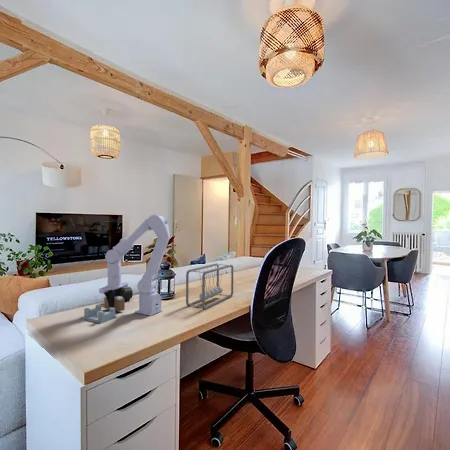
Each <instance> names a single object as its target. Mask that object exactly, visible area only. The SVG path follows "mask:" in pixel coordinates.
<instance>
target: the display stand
mask: <svg viewBox="0 0 450 450" xmlns="http://www.w3.org/2000/svg"><path fill="white" fill-rule="evenodd" d="M83 310H84V315H83V316H82V320H85V319H86V320H85V321H88V322H89V321H90V322H94V323H97V324H103V323H106V322H109V321H112V320H114V319H117V315H116V311H115V308H109V309H108V310H109V311H103V310H102V305H101V304H96V305H95V307H94V308H92V309H91V308H88V307H85V308H84V309H83Z"/></svg>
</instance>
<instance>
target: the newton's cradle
mask: <svg viewBox="0 0 450 450" xmlns="http://www.w3.org/2000/svg"><path fill="white" fill-rule="evenodd" d="M228 268H231V271H230V272H231V274H230V275H231V276H230V281H231V283H230V286H231V287H230V294H224V293H223V290H224V289H223V287H222V286H221V285H220V284H221V281H222V280H220V276H221V277H222V275H223V274H221V275H220V271H223V270H224V269H228ZM191 272H193V273H199V274H201V273H202V278H201V276H199V277H200V281H201V283H200V286H201V291H202V292H201V293H200V294H199V297H198V298H199V299H197V300H195V301H192V302H190V303H189V280H190V279H189V277H190V276H189V275H190V273H191ZM213 273H214V274H213ZM209 274H210V275H209ZM215 275H216V285H214V284H211V279H208V281H209V282H208V284H211V285H212V286H211V285H209V286H207V287H208V288H207V287H206V284H207V280H206V279H207V277H208V276H210V277H209V278H211V276H213V277H215ZM201 279H202V280H201ZM212 280H213V282H215V278H212ZM209 288H210V289H209ZM205 289H206V291H205ZM233 294H234V266H233V264H224V265H223V264H219V263H216V262H215V263H212V264H208V265H204V266H200V267H199V266H198V267H196V268H191V269H188V270H187V271H186V274H185V305H186V306H187V307H191V306H192V307H197V308H201V309H204V310H207V309H209V308H211V307H213V306H215V305H217V304H219V303H221V302H223V301H225V300H227V299H230V298H232V297H233ZM217 295H220V296H225V297H223V298H221V299H219V300H216V301H214V302H212V303H210V304H209V305H208V304H207V305H206V306H205V304H206V302H205V301H206V300H207V299H210V298H212V297H214V296H217ZM200 302H201V306H200V305H199V306H198V305H196V304H198V303H200Z"/></svg>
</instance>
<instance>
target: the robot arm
mask: <svg viewBox="0 0 450 450" xmlns="http://www.w3.org/2000/svg"><path fill="white" fill-rule="evenodd" d="M148 231H153V233H154V234H155V236H156V237H157V239H156V242H155V245H154V248H153V251H152V253H151V256H150V257H149V258H150V259H149V262H148V265H147V267H146V270H145V272H144V274H143V275H142V277H141V278H140V280H139V281H138V283H137V290H138V292H139V293H138V295H139V296H138V299H139V300H138V303H139V305H138V306H139V307H138V309H136V310H135V311H134V313H137V314H141V315H147V316H153V315H155V314H158V313H160V312H162V311H163V309H162V296H161V294H159V293H158V292H157V289H156V287H157V285H158V272H159V269H160V266H161V264H162V262H163V261H162V260H163V258H164V255H165V252H166V249H167V246H168V243H169V241H170V238H171V234H170V228H169V222H168V220H167V219H166V217H165V216H164V215H160V214H159V215H157V214H152V215H150V216H148V218H146V219H145V220H143V222H142V223H141V224H140V225H139V226H138V227H137V228H136V229H135V230H134V231H133V233H132V234H131V235H129V236H128V237H124V238H121V239H120V240H119V242H118V243H117V244H116V245H115V246H113V247H112V249H108V250H107V251H106V252H105V256H104V257H105V261H106V262H107V284H106V286H104V287H101V288H98V289H99V290H98V294H103V295H104V296H105V297H106V298H107V300H108V304H109V307H113V306H114V297H116V296H121V297H122V295H123V293H124V291H125V289H123V288H124V287H125V288H127V287H129V282H122V260H123V259H124V256H125V255H127V253H129V251H131V250H132V249H133V248H134V246H135V242H136V241H137V240H138V239H140V238H141V237H142V236H143V235H144V234H146V233H147V232H148ZM112 290H113V291H114V292H113V291H112Z"/></svg>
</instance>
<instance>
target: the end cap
mask: <svg viewBox="0 0 450 450" xmlns="http://www.w3.org/2000/svg"><path fill="white" fill-rule="evenodd" d="M123 289H125V291H124V293H123V295H122V297H123V299H125V300H126V301H130V300H131V299H133V298H132V297H133V294H134V292H133V289H132V287H131V286H128V287H124V288H123ZM112 291H113V290H112ZM113 292H114V291H113Z"/></svg>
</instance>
